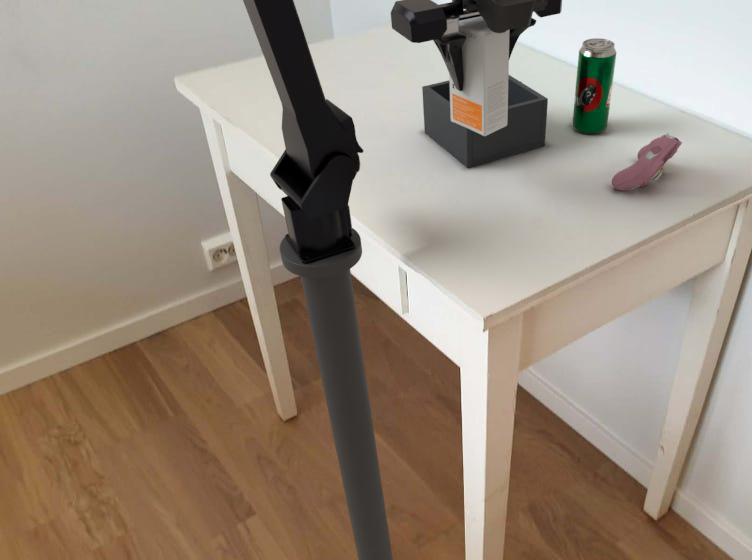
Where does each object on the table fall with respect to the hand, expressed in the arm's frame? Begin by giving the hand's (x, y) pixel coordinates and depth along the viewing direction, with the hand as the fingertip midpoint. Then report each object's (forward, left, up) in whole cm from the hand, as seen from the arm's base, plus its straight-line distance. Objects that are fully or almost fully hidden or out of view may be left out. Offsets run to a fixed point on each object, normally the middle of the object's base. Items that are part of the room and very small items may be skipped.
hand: (478, 85), depth 85 cm
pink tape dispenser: (+19, -10, -13) cm, 26 cm away
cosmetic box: (0, 0, -5) cm, 5 cm away
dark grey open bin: (+7, +11, -13) cm, 19 cm away
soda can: (+22, +6, -13) cm, 27 cm away
